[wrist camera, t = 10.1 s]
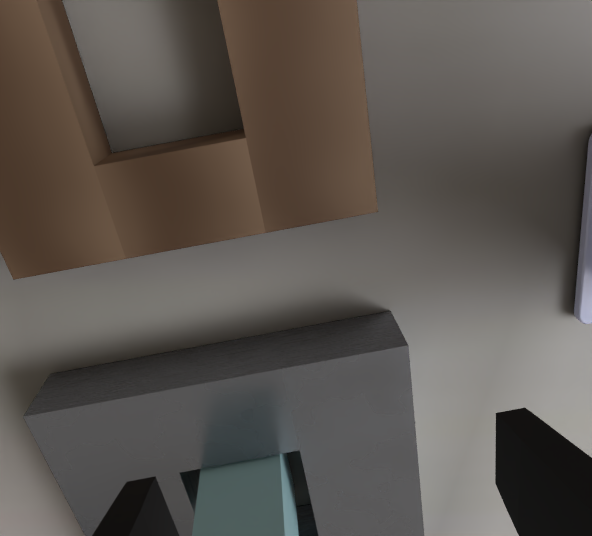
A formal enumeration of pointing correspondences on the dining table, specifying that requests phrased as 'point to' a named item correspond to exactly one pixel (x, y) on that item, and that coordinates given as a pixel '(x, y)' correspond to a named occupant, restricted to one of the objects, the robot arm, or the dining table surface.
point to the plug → (247, 499)
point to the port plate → (246, 424)
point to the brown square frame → (181, 141)
